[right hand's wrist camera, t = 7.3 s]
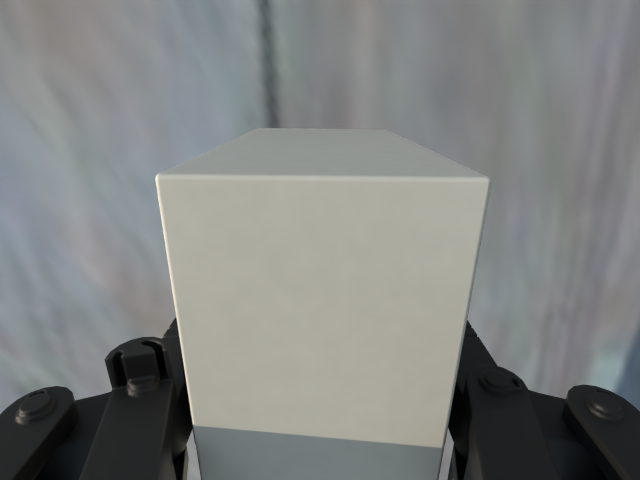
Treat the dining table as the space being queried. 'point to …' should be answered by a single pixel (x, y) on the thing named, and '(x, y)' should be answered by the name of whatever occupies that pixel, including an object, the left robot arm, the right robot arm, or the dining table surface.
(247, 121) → the dining table surface
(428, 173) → the post
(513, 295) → the dining table surface
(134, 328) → the dining table surface
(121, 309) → the dining table surface
